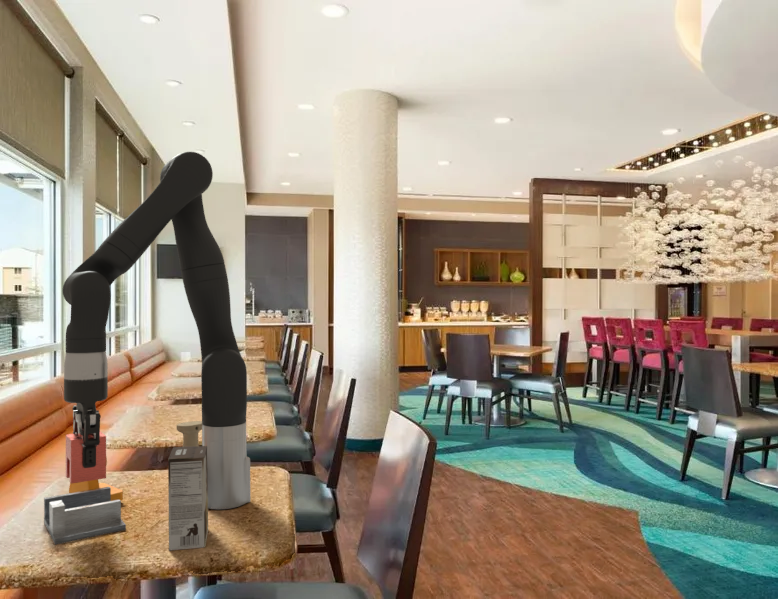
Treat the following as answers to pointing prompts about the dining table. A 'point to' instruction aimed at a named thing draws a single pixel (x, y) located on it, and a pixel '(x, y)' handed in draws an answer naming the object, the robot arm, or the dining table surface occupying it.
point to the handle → (190, 432)
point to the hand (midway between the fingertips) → (85, 463)
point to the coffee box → (188, 497)
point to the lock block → (76, 460)
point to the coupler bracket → (82, 515)
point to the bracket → (94, 484)
